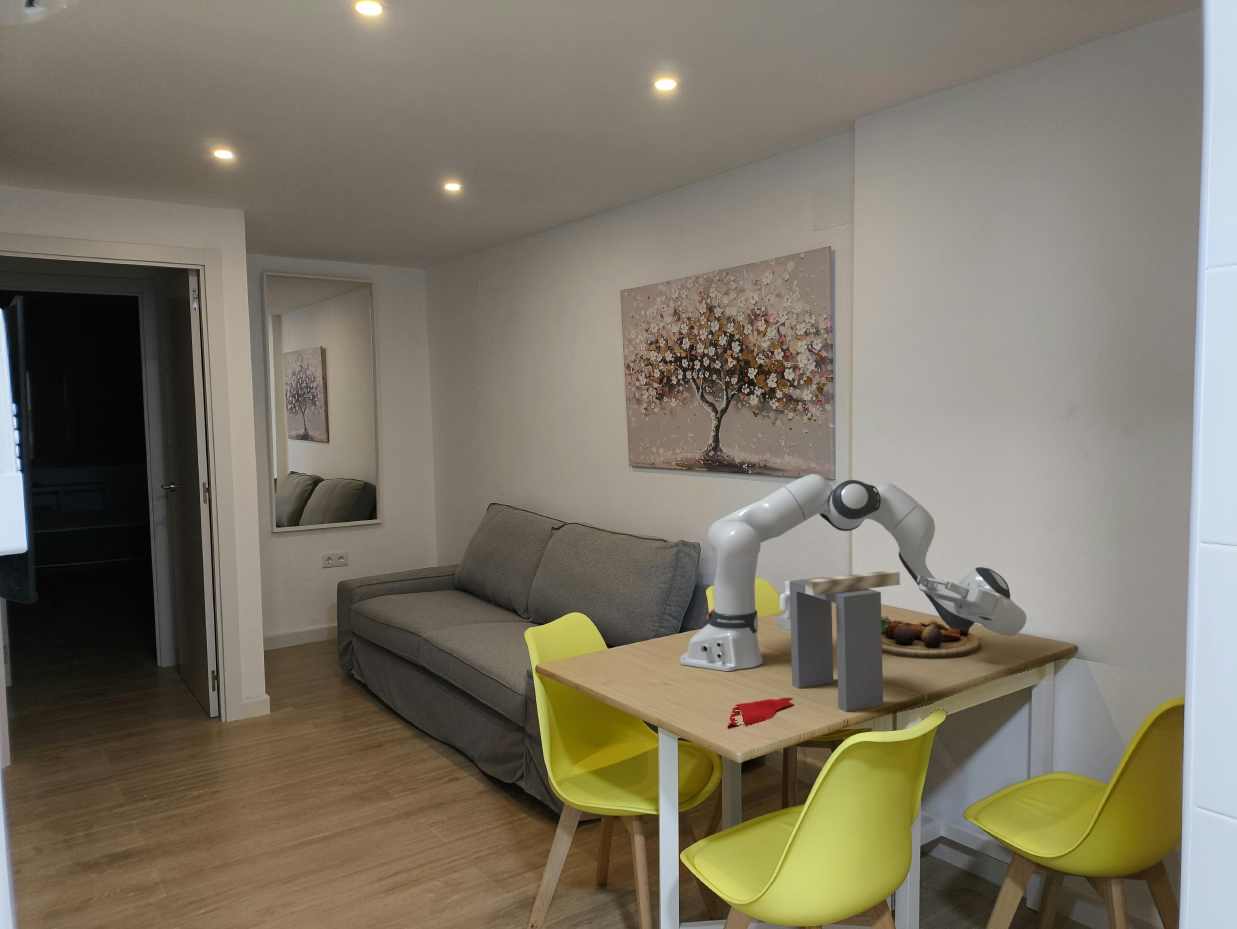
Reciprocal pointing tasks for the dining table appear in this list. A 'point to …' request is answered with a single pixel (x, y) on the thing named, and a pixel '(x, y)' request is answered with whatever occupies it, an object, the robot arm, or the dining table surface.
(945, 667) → the dining table surface
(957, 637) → the wooden plate with food
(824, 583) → the maple bar
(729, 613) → the robot arm
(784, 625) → the figurine
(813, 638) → the grey arch
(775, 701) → the cloth
